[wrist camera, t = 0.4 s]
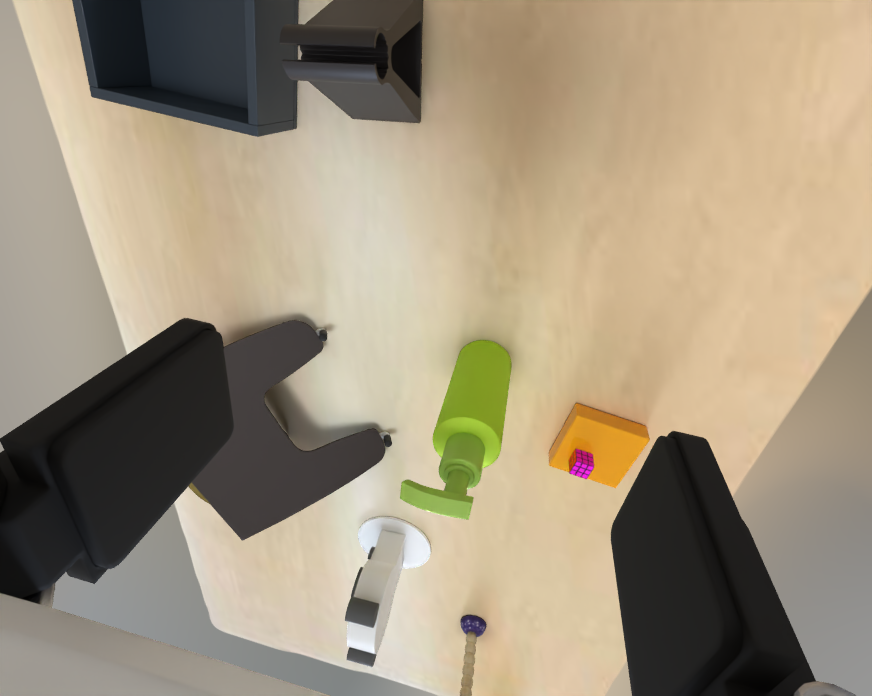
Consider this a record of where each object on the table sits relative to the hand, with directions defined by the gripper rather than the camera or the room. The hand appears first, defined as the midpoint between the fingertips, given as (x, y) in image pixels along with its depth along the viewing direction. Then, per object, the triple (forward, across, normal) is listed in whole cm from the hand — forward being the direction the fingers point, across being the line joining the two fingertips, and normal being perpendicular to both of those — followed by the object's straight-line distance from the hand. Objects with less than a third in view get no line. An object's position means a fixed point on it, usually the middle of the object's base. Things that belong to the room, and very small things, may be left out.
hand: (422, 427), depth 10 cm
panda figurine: (+35, +6, +55) cm, 66 cm away
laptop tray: (+35, +21, +32) cm, 52 cm away
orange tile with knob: (+35, -15, +27) cm, 47 cm away
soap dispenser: (+35, 0, +20) cm, 41 cm away
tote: (+35, +27, -6) cm, 45 cm away
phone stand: (+35, +12, -6) cm, 38 cm away
